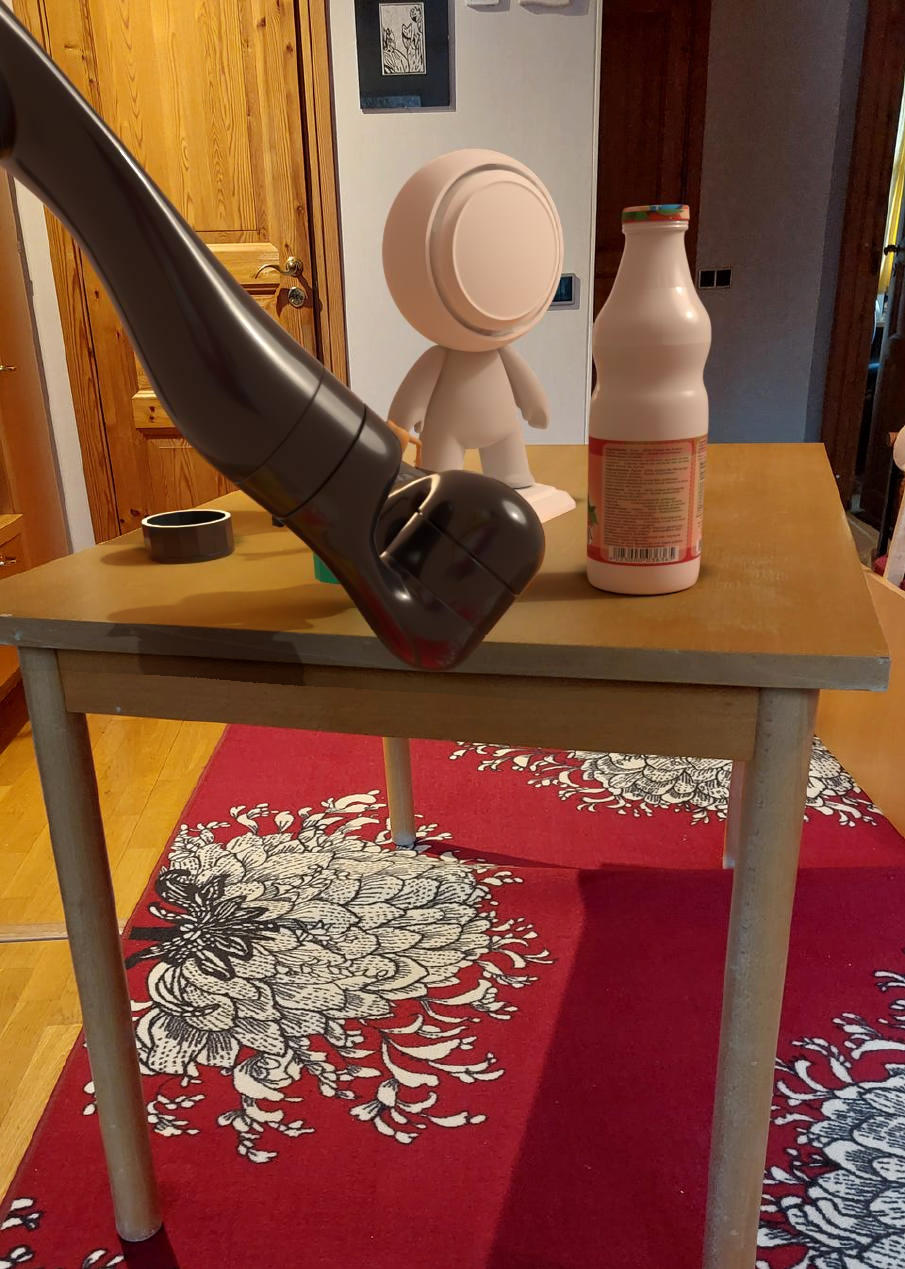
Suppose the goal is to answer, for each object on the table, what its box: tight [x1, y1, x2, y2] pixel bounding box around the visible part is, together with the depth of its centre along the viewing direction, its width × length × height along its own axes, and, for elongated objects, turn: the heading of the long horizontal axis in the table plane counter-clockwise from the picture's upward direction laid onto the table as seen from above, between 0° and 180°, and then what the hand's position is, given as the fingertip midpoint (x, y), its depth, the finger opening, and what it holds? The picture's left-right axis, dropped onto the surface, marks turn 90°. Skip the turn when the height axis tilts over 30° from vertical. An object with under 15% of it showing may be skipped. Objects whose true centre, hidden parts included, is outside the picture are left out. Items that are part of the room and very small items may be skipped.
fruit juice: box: [586, 204, 712, 595], centre depth 87 cm, size 9×9×28 cm
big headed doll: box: [381, 148, 577, 525], centre depth 116 cm, size 20×23×35 cm
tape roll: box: [140, 509, 236, 565], centre depth 109 cm, size 9×9×4 cm
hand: (340, 480), depth 88 cm, fingers closed on candle, 5 cm apart
